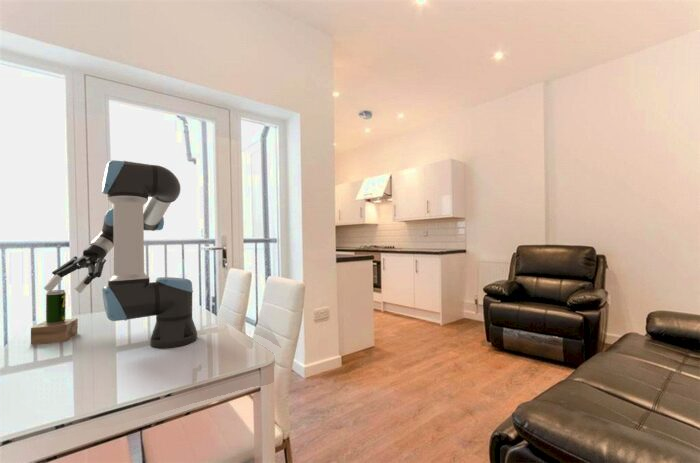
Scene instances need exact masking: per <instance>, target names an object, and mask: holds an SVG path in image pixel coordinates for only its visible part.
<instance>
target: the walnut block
mask: <svg viewBox="0 0 700 463" xmlns="http://www.w3.org/2000/svg"><path fill="white" fill-rule="evenodd" d="M78 328H79V327H78V318H68V319H66V318H65V321H64V322H63V323H60V324H53V325H48V324H47V323H46V320H44V321H43V322H40V323H38V324H36V325H34V326H32V327H30V346H31V345H33V346H34V345H41V344H42V345H43V344H53V343H63V342H68V341H69V340H70V339H72V338H73V337H75V336H77V335H78Z"/></svg>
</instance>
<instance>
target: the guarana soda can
mask: <svg viewBox="0 0 700 463" xmlns="http://www.w3.org/2000/svg"><path fill="white" fill-rule="evenodd" d="M45 302H46V303H45V321H46V323H47V324H48V325H53V324H60V323H63V322H64V321H65V319H66V304H67V302H66V290H65V289H55V290H54V289H53V290H52V291H47V290H46V294H45Z"/></svg>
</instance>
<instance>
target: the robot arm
mask: <svg viewBox="0 0 700 463" xmlns="http://www.w3.org/2000/svg"><path fill="white" fill-rule="evenodd" d="M101 188H102V189H101V193H102V194H103V195H107V201H109V202H110V203H111V204H112V206H113V207H112V208H110V209H108V210H107V211H106V212H105V215H104V217H103V226H102V230H101V231H100V232H99V234H98V235H97V236H95V238H94V239H93V240H92V241H90V243H89V244H88V245H87V247H85V249H83V251H82V255H81V256H80V257H77V256H76V255H75V256H73V257H71V259H70V260H69V261H67V262H66V263H63V264H62V265H61V266H59V267H58V268H56V269H55V270H53V271H52V272H51V275H54V276H53V277H51V279H50V280H48V281H49V282H47V284H46V285H45V286H43V289H44V290H46V292H47V291H53V290H54V289H55V288H56V287H57V286H58V285H59V283H61V281H62V280H63V278H64V277H66V276H68V275H69V274H71V273H73V272H75V271H77V270H81V269H85V268H86V269H87V270H88V272H87V274H85V276H83V278H82V279H81V280H80V281H79V283H78V284H77V285H76V286H75V287H74V290H75V291H77V292H78V293H80V294H81V293H83V292H84V290H85V288H87V286H88V285H90V283H91V282H92V281H93V280H94V279H96V278H101V277H102V273H103V270H104V264H105V263H106V262H107V259H105V258H106V256H107V254H109V252H110V251H111V250H112V249H113V276H111V277H110V278H109V279H108V280H107V285H104V286H103V287H102V290H101V291H102V300H103V305H104V311H105V314H106V317H107V319H108V320H109V321H111V322H118V321H127V320H133V319H140V318H146V317H147V318H149V317H154V316H155V317H156V318H155V324H154V327H153V330H152V333H151V335H150V341H149V342H150V343H149V344H150V346H151V347H152V348H157V349H158V348H159V349H167V348H176V347H182V346H185V345H188V344H189V345H190V344H191V342H192V343H194V342H195V341H197V340H198V330H197V328H196V325H195V322H194V319H193V292H194V290H193V282H192V281H191V279H188V278H184V277H172V276H171V277H169V276H167V277H166V276H165V277H164V276H163V277H157V278H156V279H155V281H153V282H151V281H150V276H149V275H147V274H146V273H145V246H144V245H145V240H144V239H145V236H144V233H145V232H144V231H151V232H155V231H161V230H163V228H164V225H165V218H164V215H165V213H166V212H167V210H168V208H169V207H170V205H171V203H173V202H175V201H176V200H178V198H179V196H180V194H181V183H180V181H179V179H178V177H177V176H176V175H175V173H173V172H172V171H171V170H170V169H169V168H166V167H164V166H161V165H157V164H148V163H147V164H146V163H141V162H135V161H127V160H110V161H108V162H107V164H106V167H105V170H104V175H103V179H102V185H101ZM144 205H145V207H144ZM196 339H197V340H196ZM193 341H194V342H193Z"/></svg>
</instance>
